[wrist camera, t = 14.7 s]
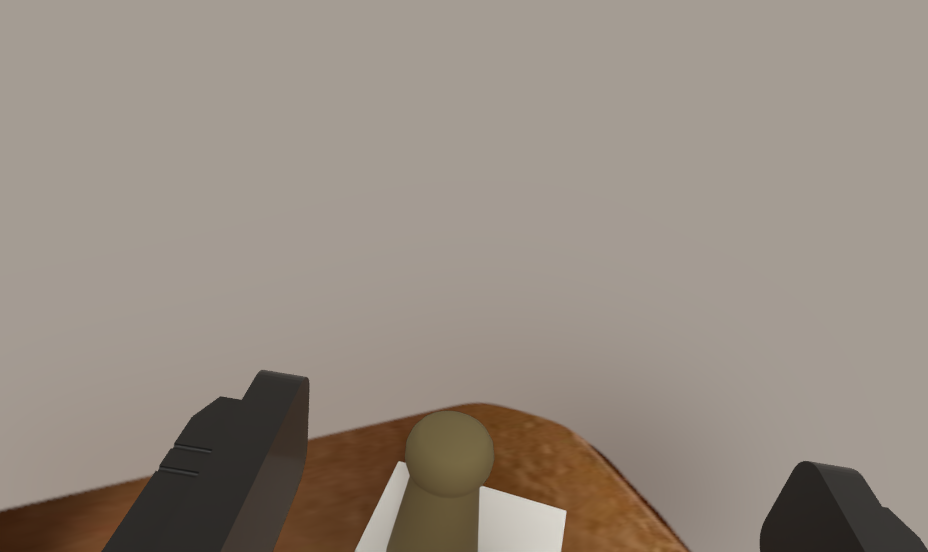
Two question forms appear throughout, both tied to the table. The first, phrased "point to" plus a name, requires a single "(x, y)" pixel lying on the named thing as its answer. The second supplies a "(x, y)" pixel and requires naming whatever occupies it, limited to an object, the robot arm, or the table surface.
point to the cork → (443, 485)
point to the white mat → (500, 520)
